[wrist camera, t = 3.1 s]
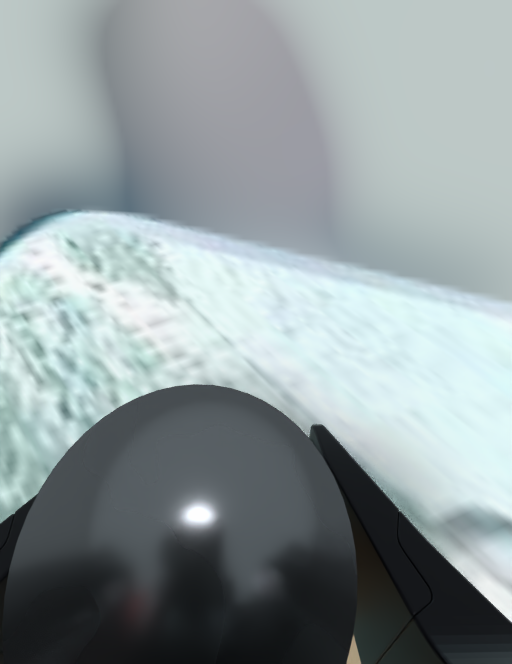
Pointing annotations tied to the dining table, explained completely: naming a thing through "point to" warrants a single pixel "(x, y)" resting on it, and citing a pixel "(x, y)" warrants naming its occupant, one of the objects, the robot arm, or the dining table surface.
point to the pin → (185, 542)
